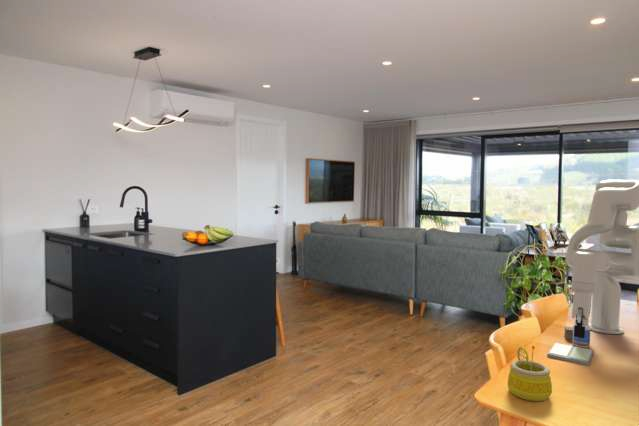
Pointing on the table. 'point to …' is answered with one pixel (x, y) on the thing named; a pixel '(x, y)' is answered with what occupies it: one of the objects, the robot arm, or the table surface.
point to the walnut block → (568, 333)
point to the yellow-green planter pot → (529, 378)
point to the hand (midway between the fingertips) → (581, 334)
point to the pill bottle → (583, 341)
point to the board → (571, 353)
